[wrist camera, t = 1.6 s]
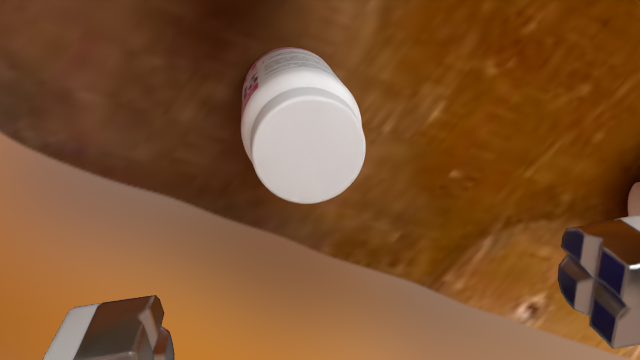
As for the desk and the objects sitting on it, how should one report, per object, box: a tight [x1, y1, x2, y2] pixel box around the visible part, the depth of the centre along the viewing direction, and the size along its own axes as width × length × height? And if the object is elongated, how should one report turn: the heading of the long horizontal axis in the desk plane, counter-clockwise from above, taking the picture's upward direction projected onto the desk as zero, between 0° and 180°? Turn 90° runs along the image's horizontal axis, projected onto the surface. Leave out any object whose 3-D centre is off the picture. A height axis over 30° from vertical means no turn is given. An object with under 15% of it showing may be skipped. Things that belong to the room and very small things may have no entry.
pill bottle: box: [241, 47, 365, 204], centre depth 20 cm, size 5×5×8 cm
